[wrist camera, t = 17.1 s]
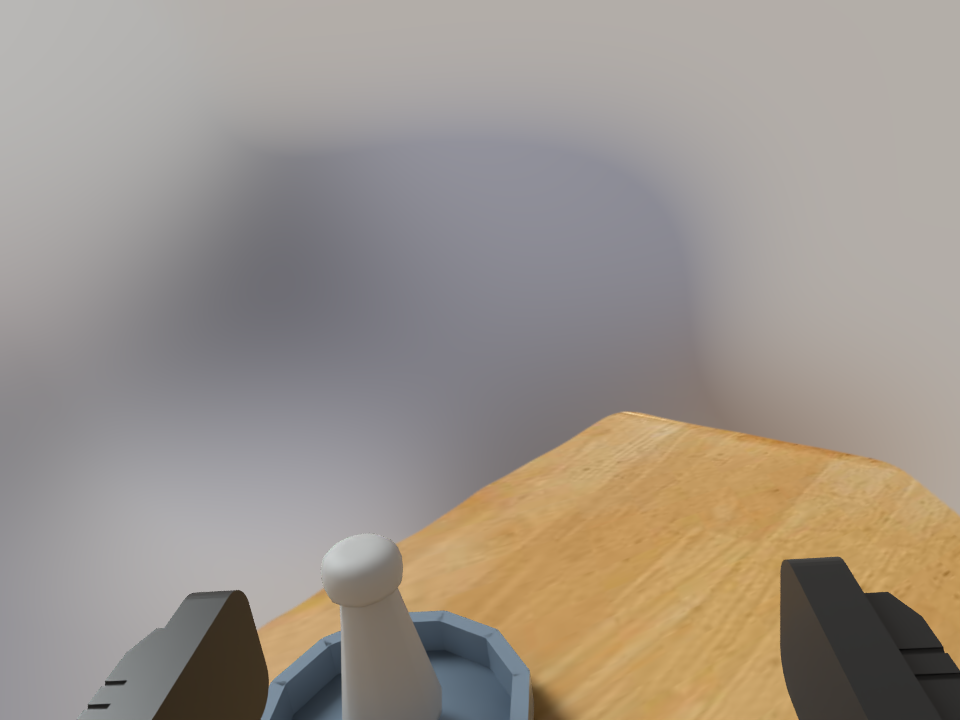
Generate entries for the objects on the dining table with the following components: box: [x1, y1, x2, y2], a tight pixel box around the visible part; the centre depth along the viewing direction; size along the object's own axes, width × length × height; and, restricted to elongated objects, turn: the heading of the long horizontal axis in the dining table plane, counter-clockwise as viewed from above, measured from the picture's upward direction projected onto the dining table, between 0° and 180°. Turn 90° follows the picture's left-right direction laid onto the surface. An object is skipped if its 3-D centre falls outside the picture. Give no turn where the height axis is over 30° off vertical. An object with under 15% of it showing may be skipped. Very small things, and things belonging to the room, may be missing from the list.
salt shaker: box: [321, 534, 442, 720], centre depth 42 cm, size 6×6×13 cm
